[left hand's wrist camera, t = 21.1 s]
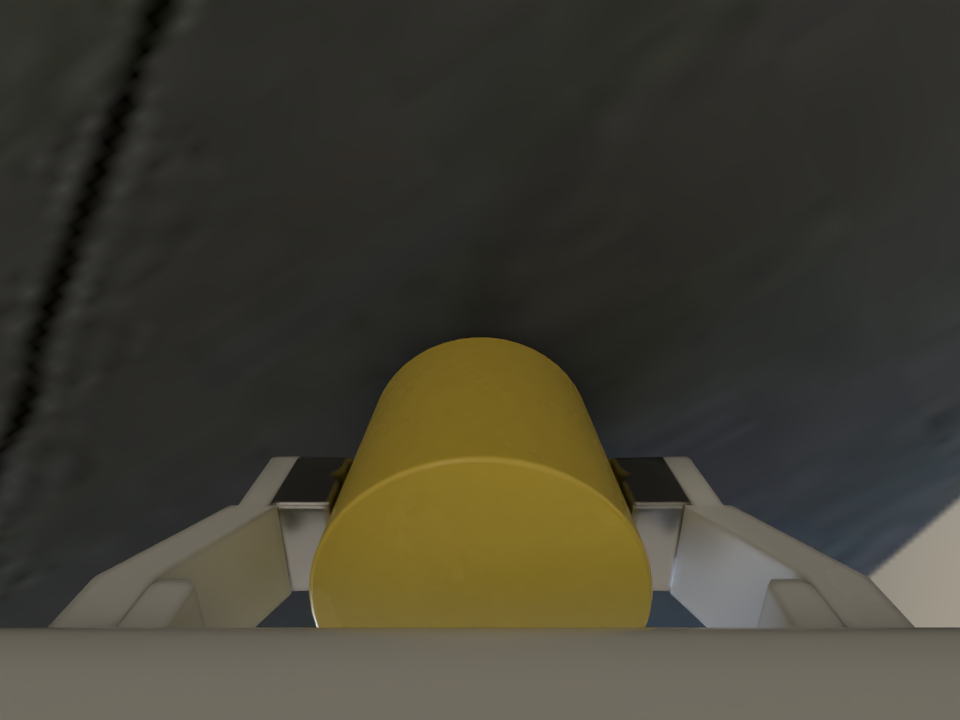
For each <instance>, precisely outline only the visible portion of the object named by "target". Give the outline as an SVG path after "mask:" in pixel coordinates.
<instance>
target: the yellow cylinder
mask: <svg viewBox="0 0 960 720" xmlns="http://www.w3.org/2000/svg"><path fill="white" fill-rule="evenodd" d="M309 597H310V604H311V610H312V615H313V618H314V622H315V625H316V628H645V627H646V624H647V621H648V618H649V615H650V609H651V603H652V597H653V577H652V572H651V566H650V561H649V558H648V555H647V552H646V549H645V547H644V544H643V541H642V539H641V537H640V534H639V532H638V530H637V527H636V525H635V523H634V520H633V518H632V515H631V513H630V511H629V508H628V506H627V504H626V501H625V499H624V497H623V494H622V492H621V489H620V487H619V485H618V482H617V480H616V478H615V475H614V473H613V471H612V468H611V466H610V463H609V461H608V459H607V456H606V454H605V452H604V449H603V447H602V445H601V442H600V440H599V437H598V435H597V433H596V430H595V428H594V426H593V423H592V421H591V419H590V416H589V414H588V411H587V409H586V407H585V404H584V402H583V400H582V397H581V395H580V394H579V392H578V390H577V388H576V386H575V385H574V383H573V382H572V381H571V379H570V378H569V377H568V375H567V374H566V373H565V372H564V371H563V370H562V369H561V368H560V367H559V366H558V365H557V364H555V363H554V362H553V361H551V360H550V359H549V358H547V357H546V356H544V355H543V354H541V353H539V352H537V351H535V350H534V349H532V348H529V347H527V346H524V345H522V344H519V343H516V342H512V341H508V340H504V339H496V338H475V337H474V338H465V339H458V340H454V341H450V342H446V343H443V344H440V345H437V346H435V347H432V348H430V349H428V350H426V351H424V352H423V353H421V354H419V355H417V356H416V357H414V358H413V359H412V360H410V361H409V362H408V363H406V364H405V365H404V366H403V367H402V368H401V369H400V370H399V371H398V372H397V373H396V374H395V375H394V376H393V378H392V379H391V380H390V382H389V383H388V384H387V386H386V388H385V389H384V391H383V393H382V395H381V397H380V399H379V401H378V404H377V406H376V408H375V411H374V413H373V416H372V418H371V420H370V423H369V425H368V427H367V430H366V432H365V434H364V437H363V439H362V442H361V444H360V446H359V449H358V451H357V453H356V456H355V458H354V461H353V463H352V465H351V468H350V470H349V472H348V475H347V477H346V480H345V482H344V484H343V487H342V489H341V491H340V494H339V496H338V499H337V501H336V503H335V506H334V508H333V510H332V513H331V515H330V518H329V520H328V522H327V525H326V527H325V529H324V532H323V534H322V537H321V539H320V541H319V544H318V547H317V549H316V552H315V554H314V557H313V561H312V566H311V571H310V576H309Z"/></svg>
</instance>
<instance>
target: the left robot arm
mask: <svg viewBox="0 0 960 720" xmlns="http://www.w3.org/2000/svg"><path fill="white" fill-rule="evenodd" d="M608 461H609V463H610V466H611V468H612V471H613V473H614V475H615V478H616V480H617V482H618V485H619V487H620V489H621V492H622V494H623V497H624V499H625V501H626V504H627V506H628V508H629V511H630V513H631V515H632V518H633V520H634V523H635V525H636V527H637V530H638V532H639V534H640V537H641V539H642V541H643V544H644V547H645V549H646V552H647V555H648V558H649V561H650V566H651V572H652V577H653V590H654V591H670V593H671V594H672V595H673V596H674V597H675V598H676V599H677V600H678V601H679V602H680V603H681V604H682V605H683V606H685V607H686V608H687V609H688V610H689V611H690V612H691V613H692V614H693V615H694V616H695V617H696V618H697V619H699V620H700V621H701V622H702V623H703V624H704V625H705V626H706V627H707V628H255V627H256V626H257V625H258V624H259V623H260V622H261V621H262V620H263V619H264V618H265V617H267V616H268V615H269V614H270V613H271V612H272V611H273V610H274V609H275V608H276V607H277V606H278V605H280V604H281V603H282V602H283V601H284V600H285V599H286V598H287V597H288V596H289V595H290V594H291V591H307V590H309V576H310V571H311V566H312V561H313V557H314V554H315V552H316V549H317V547H318V544H319V541H320V539H321V537H322V534H323V532H324V529H325V527H326V525H327V522H328V520H329V518H330V515H331V513H332V510H333V508H334V506H335V503H336V501H337V499H338V496H339V494H340V491H341V489H342V487H343V484H344V482H345V480H346V477H347V475H348V472H349V470H350V468H351V465H352V463H353V459H352V458H345V457H299V456H286V457H274V458H272V459H271V460H270V461H269V462H268V464H267V465H266V467H265V468H264V469H263V471H262V472H261V474H260V475H259V476H258V478H257V479H256V481H255V482H254V484H253V485H252V486H251V488H250V489H249V491H248V492H247V493H246V495H245V496H244V498H243V499H242V501H241V502H240V503H239V505H235V506H228V507H226V508H224V509H222V510H220V511H219V512H217V513H215V514H213V515H211V516H209V517H207V518H205V519H203V520H201V521H200V522H198V523H196V524H194V525H192V526H190V527H188V528H186V529H184V530H182V531H181V532H179V533H177V534H175V535H173V536H171V537H169V538H167V539H165V540H163V541H162V542H160V543H158V544H156V545H154V546H152V547H150V548H148V549H146V550H144V551H143V552H141V553H139V554H137V555H135V556H133V557H131V558H129V559H127V560H125V561H124V562H122V563H120V564H118V565H116V566H114V567H112V568H110V569H108V570H106V571H105V572H103V573H101V574H99V575H97V576H95V577H94V578H93V579H92V580H91V581H90V582H89V583H88V584H87V585H86V586H85V587H84V589H83V590H82V591H81V592H80V593H79V594H78V595H77V596H76V597H75V598H74V599H73V600H72V601H71V603H70V604H69V605H68V606H67V607H66V608H65V609H64V610H63V611H62V612H61V613H60V614H59V615H58V617H57V618H56V619H55V620H54V621H53V622H52V623H51V624H50V625H49V626H48V627H0V720H960V628H915V627H914V626H913V625H912V624H911V623H910V621H909V620H908V619H907V618H906V617H905V616H904V615H903V614H902V613H901V612H900V611H899V610H898V609H897V607H896V606H895V605H894V604H893V603H892V602H891V601H890V600H889V599H888V598H887V597H886V596H885V595H884V593H883V592H882V591H881V590H880V589H879V588H878V587H877V586H876V585H875V584H874V583H873V582H872V581H871V579H870V578H868V577H867V576H865V575H863V574H861V573H859V572H857V571H855V570H853V569H851V568H849V567H848V566H846V565H844V564H842V563H840V562H838V561H836V560H834V559H832V558H831V557H829V556H827V555H825V554H823V553H821V552H819V551H817V550H815V549H813V548H812V547H810V546H808V545H806V544H804V543H802V542H800V541H798V540H796V539H794V538H793V537H791V536H789V535H787V534H785V533H783V532H781V531H779V530H777V529H775V528H774V527H772V526H770V525H768V524H766V523H764V522H762V521H760V520H758V519H756V518H755V517H753V516H751V515H749V514H747V513H745V512H743V511H741V510H739V509H737V508H736V507H734V506H727V505H723V504H722V502H721V501H720V500H719V498H718V497H717V495H716V494H715V493H714V491H713V490H712V489H711V487H710V486H709V484H708V483H707V482H706V480H705V479H704V477H703V476H702V475H701V473H700V472H699V470H698V469H697V468H696V466H695V465H694V463H693V462H692V461H691V459H690V458H688V457H686V456H674V457H643V458H610V459H608Z"/></svg>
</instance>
